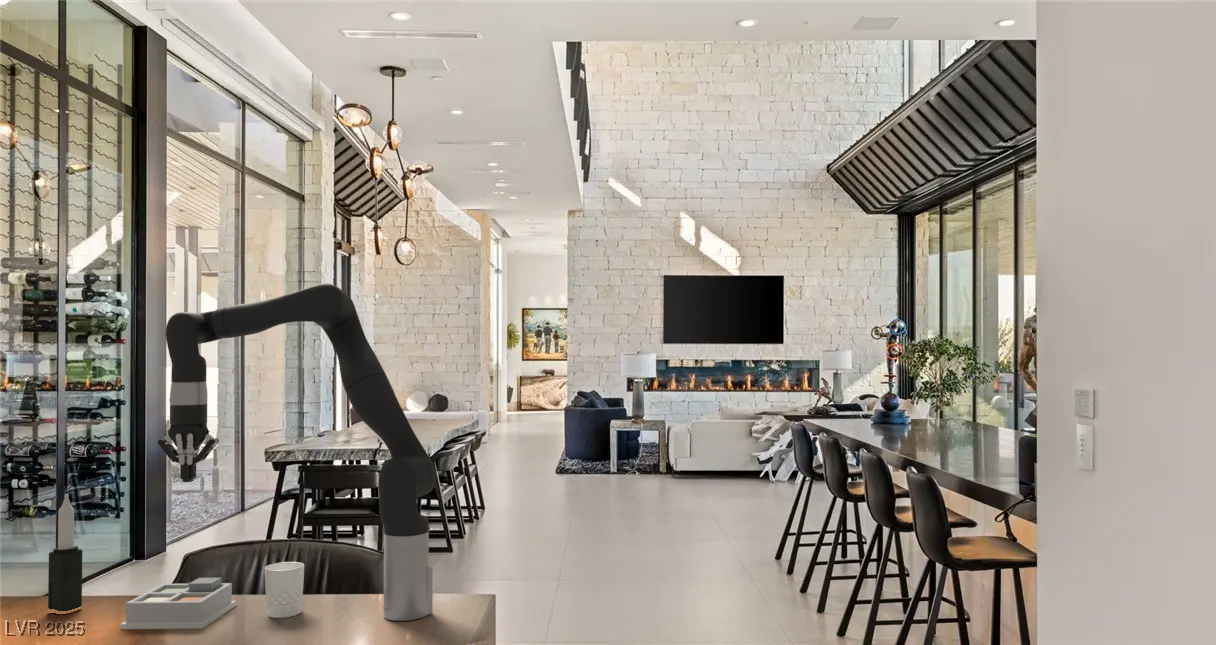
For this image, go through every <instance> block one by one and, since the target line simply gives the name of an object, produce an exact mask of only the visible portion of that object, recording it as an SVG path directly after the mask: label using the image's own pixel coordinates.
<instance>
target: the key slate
mask: <svg viewBox="0 0 1216 645" xmlns="http://www.w3.org/2000/svg"><path fill="white" fill-rule="evenodd" d="M221 583H222V577H198V578H196V579H194V580H193V581H191V582H189V583H188V584H189V592H214V591H215V590H217V589H219V588H220V587H221Z"/></svg>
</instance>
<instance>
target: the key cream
mask: <svg viewBox="0 0 1216 645" xmlns="http://www.w3.org/2000/svg"><path fill="white" fill-rule="evenodd" d="M168 598H170V597H156V598H148V599H146V600H145V601H143V602H146V601H165V600H167V599H168Z"/></svg>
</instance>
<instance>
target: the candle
mask: <svg viewBox="0 0 1216 645" xmlns="http://www.w3.org/2000/svg"><path fill="white" fill-rule="evenodd" d="M63 497H64V499H63V502H62V504H61V506H60V508H59V509H58V512H57V514H58V515H57V516H58V518H57V519H58V520H57V523H58V524H57V547H56V548H53V550H52V551H50V552H48V575H47V576H48V578H47V579H48V582H47V583H48V586H47V588H48V589H47V590H48V591H47V596H48V598H47V603H48V604H47V609H48V608H49V609H55V610H58V611H68V610H72V609H75V608H78V607H80V606H82V607H83V552H84V551H83V549H81V548H79V546H78V545H75V509H74V507H73V505H72V504H71V502H70V498H69V497H70V496H69V494H68V493H66V494H64V496H63Z"/></svg>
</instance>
